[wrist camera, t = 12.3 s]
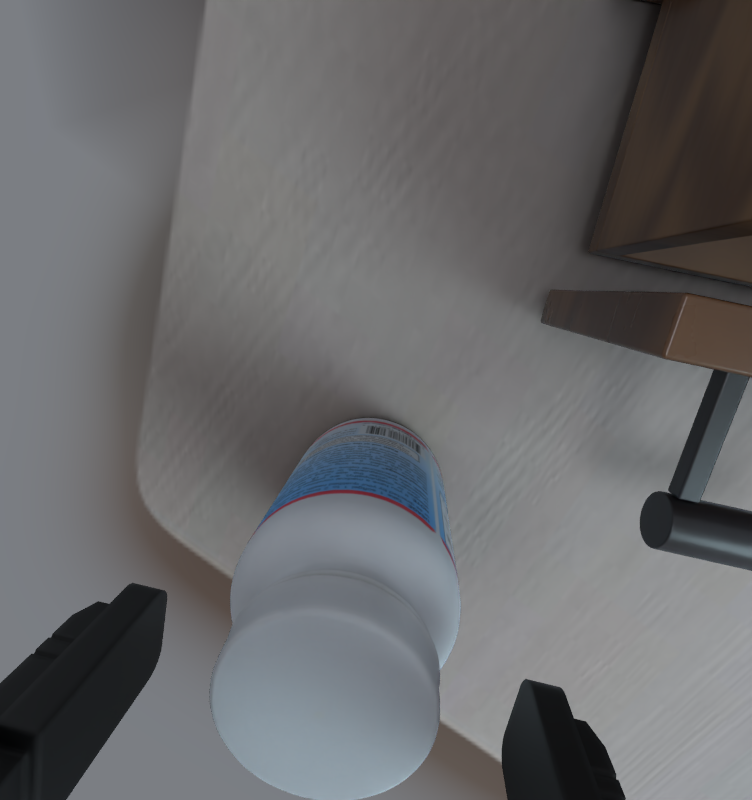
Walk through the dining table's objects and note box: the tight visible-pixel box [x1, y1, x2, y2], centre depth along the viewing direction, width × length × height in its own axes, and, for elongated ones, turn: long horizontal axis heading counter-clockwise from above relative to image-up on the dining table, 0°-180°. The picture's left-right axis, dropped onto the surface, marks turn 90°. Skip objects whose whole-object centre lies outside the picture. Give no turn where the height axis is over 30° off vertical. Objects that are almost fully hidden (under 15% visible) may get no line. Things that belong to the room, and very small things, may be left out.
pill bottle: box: [210, 418, 461, 800], centre depth 15 cm, size 6×6×11 cm
